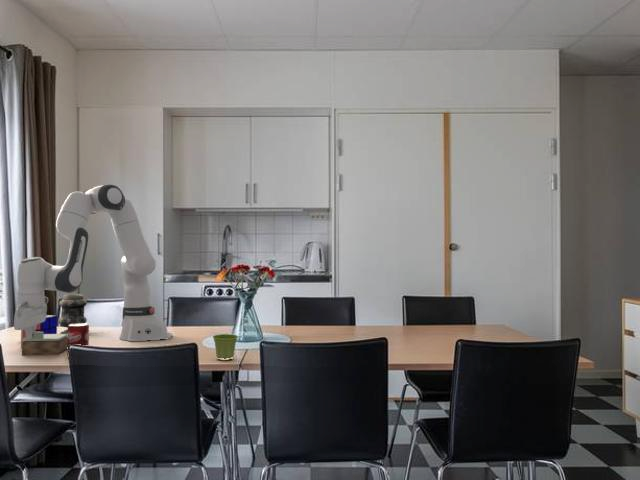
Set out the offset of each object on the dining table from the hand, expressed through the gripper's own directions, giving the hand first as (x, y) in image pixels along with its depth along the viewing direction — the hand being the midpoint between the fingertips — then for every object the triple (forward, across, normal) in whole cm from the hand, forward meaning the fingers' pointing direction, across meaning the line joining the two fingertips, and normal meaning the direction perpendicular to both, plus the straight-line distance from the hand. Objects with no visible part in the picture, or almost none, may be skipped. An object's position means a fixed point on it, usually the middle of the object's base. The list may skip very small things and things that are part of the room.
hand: (30, 338), depth 187 cm
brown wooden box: (+7, +8, -2) cm, 11 cm away
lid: (+2, +8, -2) cm, 9 cm away
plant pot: (+8, -10, -72) cm, 73 cm away
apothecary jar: (+7, +51, +1) cm, 51 cm away
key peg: (+7, +17, +8) cm, 20 cm away
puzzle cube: (+8, +36, +10) cm, 38 cm away
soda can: (+7, 0, -17) cm, 18 cm away
